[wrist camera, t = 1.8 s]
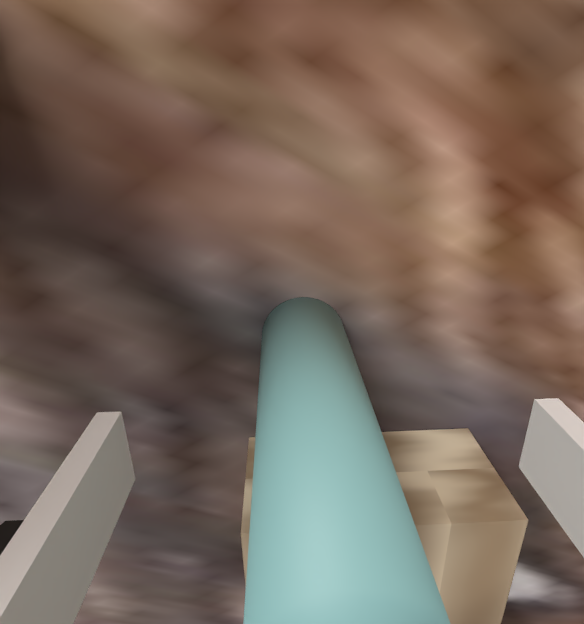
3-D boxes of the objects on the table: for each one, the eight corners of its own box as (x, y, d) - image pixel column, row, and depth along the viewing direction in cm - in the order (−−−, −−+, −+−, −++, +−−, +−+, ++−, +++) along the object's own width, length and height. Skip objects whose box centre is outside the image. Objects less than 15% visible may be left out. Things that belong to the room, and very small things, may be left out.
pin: (264, 372, 21) (247, 732, 8) (260, 298, 20) (232, 600, 7) (342, 369, 21) (445, 720, 9) (344, 295, 20) (473, 588, 7)
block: (262, 625, 29) (260, 740, 24) (248, 437, 23) (240, 533, 17) (435, 616, 29) (473, 727, 24) (467, 428, 23) (528, 520, 18)
